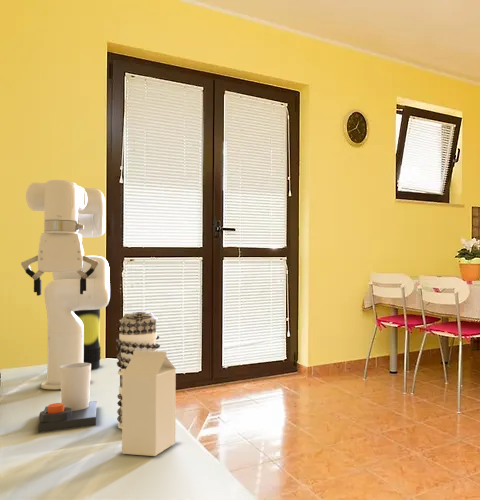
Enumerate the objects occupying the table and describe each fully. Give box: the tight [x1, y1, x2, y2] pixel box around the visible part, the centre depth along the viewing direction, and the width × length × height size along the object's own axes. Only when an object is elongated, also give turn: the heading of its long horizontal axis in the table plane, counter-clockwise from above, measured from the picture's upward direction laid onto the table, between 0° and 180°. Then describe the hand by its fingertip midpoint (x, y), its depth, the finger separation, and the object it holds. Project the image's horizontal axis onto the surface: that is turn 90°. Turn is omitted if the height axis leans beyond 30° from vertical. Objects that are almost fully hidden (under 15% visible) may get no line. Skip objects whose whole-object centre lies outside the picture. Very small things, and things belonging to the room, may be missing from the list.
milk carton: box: [121, 350, 177, 457], centre depth 100 cm, size 7×7×19 cm
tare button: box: [47, 402, 64, 414], centre depth 114 cm, size 3×3×2 cm
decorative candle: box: [115, 311, 161, 430], centre depth 116 cm, size 9×9×25 cm
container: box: [74, 309, 102, 371], centre depth 178 cm, size 11×11×30 cm
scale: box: [38, 400, 98, 433], centre depth 119 cm, size 15×11×4 cm
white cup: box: [60, 363, 92, 411], centre depth 122 cm, size 7×7×10 cm
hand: (60, 294), depth 132 cm, fingers open, 9 cm apart
